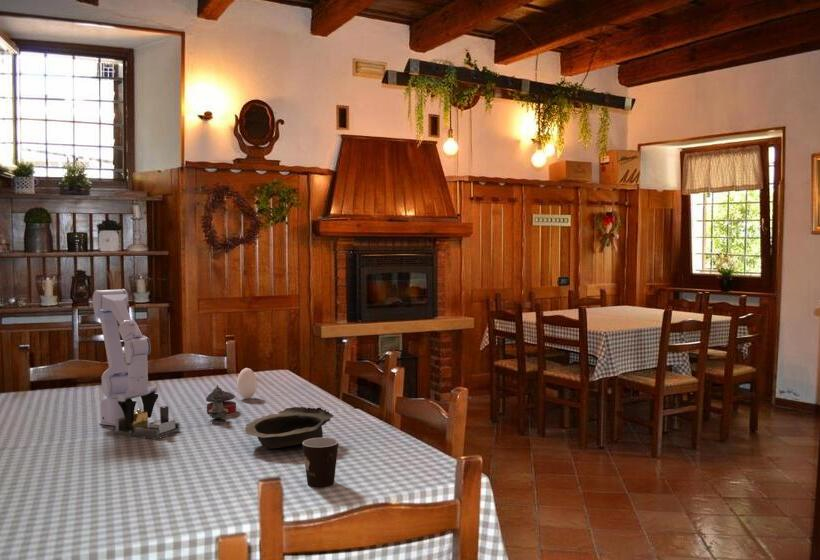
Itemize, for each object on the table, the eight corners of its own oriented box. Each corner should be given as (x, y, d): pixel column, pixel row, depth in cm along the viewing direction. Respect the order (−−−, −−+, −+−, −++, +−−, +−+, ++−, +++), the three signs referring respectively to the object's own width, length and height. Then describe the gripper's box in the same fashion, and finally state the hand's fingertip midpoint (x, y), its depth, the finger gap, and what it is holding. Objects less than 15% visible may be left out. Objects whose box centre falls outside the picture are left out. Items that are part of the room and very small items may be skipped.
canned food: (207, 427, 242) (193, 402, 242) (225, 418, 251) (212, 393, 251) (230, 415, 237) (216, 389, 238) (247, 406, 246) (234, 380, 247)
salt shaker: (222, 423, 228) (221, 387, 228) (205, 422, 229) (204, 386, 229) (230, 419, 234) (229, 383, 233) (214, 418, 235) (213, 383, 235)
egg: (261, 398, 267) (260, 367, 267) (247, 401, 261) (246, 370, 261) (247, 396, 271) (246, 365, 271) (232, 399, 265) (232, 368, 265)
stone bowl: (345, 436, 211) (344, 406, 210) (307, 467, 188) (306, 433, 187) (273, 428, 219) (271, 399, 218) (227, 457, 196) (226, 425, 195)
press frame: (114, 433, 216) (114, 419, 216) (138, 426, 225) (138, 412, 225) (156, 439, 210) (156, 424, 209) (179, 431, 219) (179, 416, 219)
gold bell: (127, 429, 217) (126, 410, 217) (138, 425, 222) (138, 406, 222) (139, 430, 215) (139, 411, 215) (151, 427, 220) (151, 408, 220)
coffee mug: (304, 478, 173) (303, 438, 173) (339, 476, 174) (338, 437, 174) (300, 494, 162) (300, 451, 161) (338, 493, 163) (337, 450, 162)
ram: (148, 432, 213) (148, 408, 212) (165, 427, 219) (164, 403, 219) (159, 433, 211) (159, 409, 211) (175, 428, 218) (175, 405, 217)
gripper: (130, 381, 210) (131, 426, 210) (164, 373, 223) (165, 415, 224) (112, 379, 212) (113, 424, 213) (147, 372, 226) (148, 413, 226)
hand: (138, 419), depth 218 cm, fingers open, 7 cm apart
